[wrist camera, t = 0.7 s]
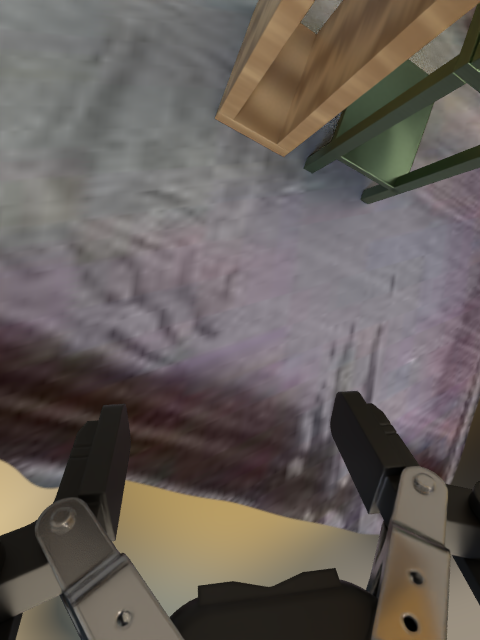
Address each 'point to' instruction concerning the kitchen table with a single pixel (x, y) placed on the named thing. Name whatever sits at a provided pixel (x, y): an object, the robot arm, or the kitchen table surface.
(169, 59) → the kitchen table surface
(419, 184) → the book rack
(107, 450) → the robot arm
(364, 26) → the tall stand
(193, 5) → the kitchen table surface
